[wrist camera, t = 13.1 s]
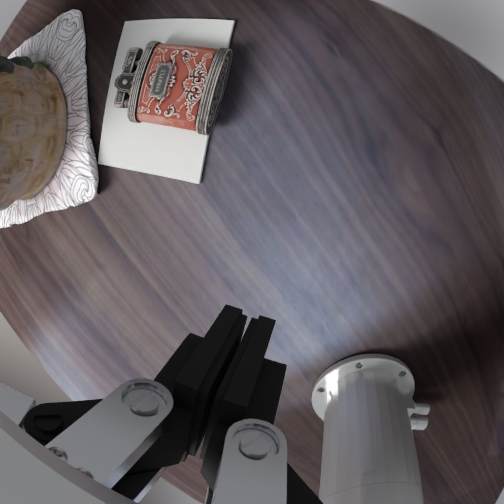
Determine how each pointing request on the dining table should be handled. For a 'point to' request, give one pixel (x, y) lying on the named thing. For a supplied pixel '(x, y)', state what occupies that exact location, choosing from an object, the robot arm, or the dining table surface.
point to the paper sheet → (148, 134)
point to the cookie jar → (46, 124)
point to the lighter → (173, 85)
